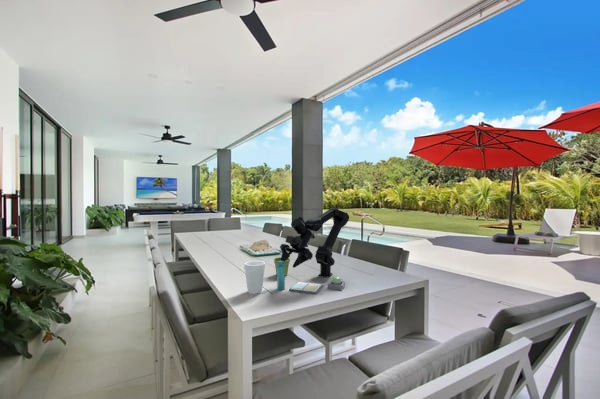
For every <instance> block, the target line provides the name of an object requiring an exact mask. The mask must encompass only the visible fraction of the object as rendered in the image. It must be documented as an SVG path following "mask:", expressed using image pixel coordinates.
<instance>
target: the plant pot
mask: <svg viewBox="0 0 600 399" xmlns="http://www.w3.org/2000/svg"><path fill="white" fill-rule="evenodd" d="M280 260H281V256H280V257H279V256H278V257H274V258H273V261H274V265H275V274H276V276H277V261H280ZM290 261H291V258H290V257H289V258H288V259H287V260H286V261H285V276H288V273H289V265H290Z"/></svg>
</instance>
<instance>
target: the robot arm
mask: <svg viewBox="0 0 600 399" xmlns="http://www.w3.org/2000/svg"><path fill="white" fill-rule="evenodd" d="M331 219H332V222H333V225H332V226H331V229H330V231H329V233H328V235H327V237H326V239H325V242H324V243H323V245H322V246H321V245H318V247H317V250H316V251H315V255H314V253H312V252H311V250H310V249H309V248H308V247H309V245H308V244H309V242H310V241H311V239H313V240H314V239H315V238H316V237H315V233H314V232H318V231H320V230H321V229H322V227H323V225H324V224H325V223H326V222H328V221H330V220H331ZM349 220H350V215H349V214H348V212H345V211H343V210H340V209H338V208H336V207H335V208H334V207H331V208H328V209H327V210H326V211H324V212H323V213H322V214H320V215H318V216H317V217H313V218H309V219H307V220H306V221H305V220H304V218H303V217H302V216H299V217H298V218H296V219H294V220H293V221H291V223H290V227H292V228H293V230H294V231H295V233H296V234H297V235H295V236H293V235H287V236H286V238H285V243H282V244H280V245H279V249H280V250H281V256H280V257H281V260H280V261H286V260H287V259H288V258H290V257H291V255H292V254H293V253H294V254H297V257H296V259H295V261H294V262H293V265H292V268H297V267H298V266H300V265H301V264H303V263H305V262H307V261H308V262H309V260H312V258H313V255H314V256H315V260H316V264H319V265H320V266H319V268H320V271H319V272H320V273H319V274H318V275H317V276H318V277H324V278H325V277H326V278H327V277H328V278H330V277H332V275H333V272H331V270H332V266H333V265H335V259H334V258H333V247H334V245H335V243H336V242H337V238H338V236H339V234H340V232H341V230H342V228H343V227H345V226H346V225H347V224H348V222H349ZM287 243H288V244H287Z"/></svg>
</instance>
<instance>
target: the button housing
mask: <svg viewBox="0 0 600 399" xmlns="http://www.w3.org/2000/svg"><path fill="white" fill-rule="evenodd" d="M345 287H346V280H345V281H343V280H341V285H338V284H332V279H331V280H330V281H329V282H328V284H327V289H330V290H331V289H332V290H333V289H334V290H340V291H343V290H344V288H345Z"/></svg>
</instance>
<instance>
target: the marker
mask: <svg viewBox="0 0 600 399" xmlns="http://www.w3.org/2000/svg"><path fill="white" fill-rule="evenodd" d="M276 276H277V277H276V278H277V281H276V282H277V286H276V287H277V288H276V290H278V291H285V289H286V287H285V286H286V285H285V283H286V282H285V280H286V279H285V278H286V275H285V261H277V275H276Z"/></svg>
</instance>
